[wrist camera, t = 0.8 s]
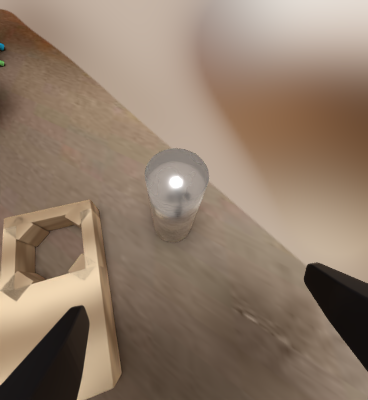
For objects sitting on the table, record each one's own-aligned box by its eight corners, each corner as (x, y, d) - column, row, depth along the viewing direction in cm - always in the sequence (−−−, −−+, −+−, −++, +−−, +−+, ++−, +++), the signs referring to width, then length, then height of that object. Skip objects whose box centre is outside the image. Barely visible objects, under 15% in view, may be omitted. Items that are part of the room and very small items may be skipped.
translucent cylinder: (195, 236, 23) (218, 194, 13) (159, 247, 22) (153, 210, 12) (184, 203, 25) (197, 143, 15) (150, 211, 24) (138, 154, 14)
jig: (121, 373, 17) (113, 388, 15) (20, 413, 16) (-10, 438, 13) (98, 210, 24) (90, 199, 21) (24, 227, 22) (4, 218, 19)
